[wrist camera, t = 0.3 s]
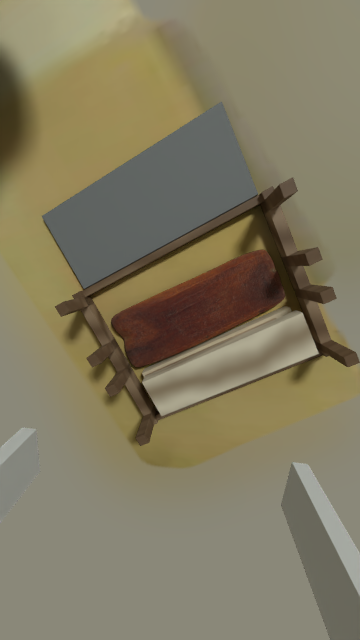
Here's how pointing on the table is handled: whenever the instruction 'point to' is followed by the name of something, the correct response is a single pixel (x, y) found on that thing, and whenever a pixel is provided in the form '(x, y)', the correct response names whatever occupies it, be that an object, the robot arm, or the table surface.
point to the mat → (153, 198)
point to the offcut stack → (229, 360)
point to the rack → (273, 215)
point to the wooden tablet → (199, 308)
